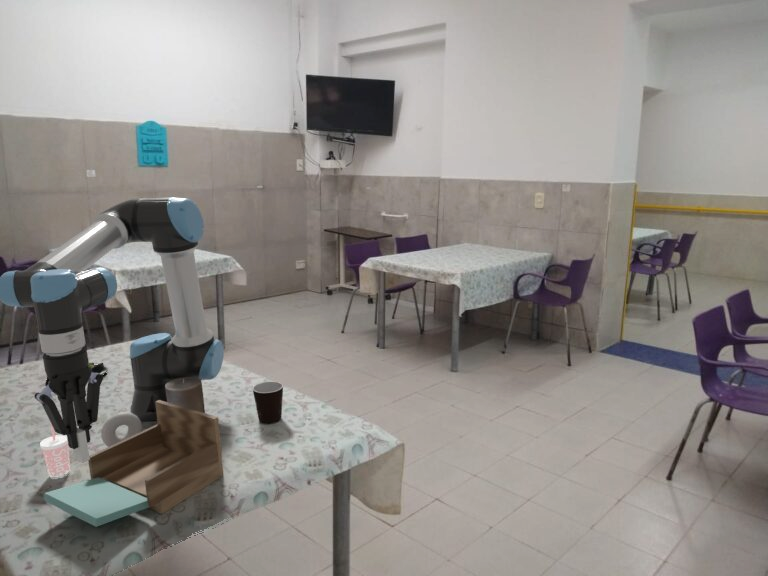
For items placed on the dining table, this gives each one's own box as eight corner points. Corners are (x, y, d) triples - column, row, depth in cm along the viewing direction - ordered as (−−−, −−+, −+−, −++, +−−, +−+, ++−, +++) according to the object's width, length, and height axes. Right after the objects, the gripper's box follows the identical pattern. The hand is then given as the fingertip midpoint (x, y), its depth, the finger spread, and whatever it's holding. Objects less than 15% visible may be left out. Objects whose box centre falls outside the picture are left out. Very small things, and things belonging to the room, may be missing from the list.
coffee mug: (278, 427, 160) (276, 393, 158) (250, 424, 162) (247, 391, 159) (293, 409, 171) (291, 378, 169) (266, 407, 173) (264, 376, 171)
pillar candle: (208, 419, 166) (203, 370, 162) (204, 434, 156) (198, 383, 153) (174, 423, 164) (168, 374, 161) (167, 438, 155) (160, 386, 152)
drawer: (92, 492, 129) (84, 432, 126) (165, 454, 146) (159, 399, 143) (152, 519, 119) (144, 454, 116) (223, 475, 135) (218, 417, 132)
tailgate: (97, 489, 129) (43, 505, 118) (98, 477, 129) (44, 492, 118) (149, 512, 120) (95, 532, 109) (150, 499, 120) (96, 518, 109)
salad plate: (49, 392, 190) (47, 379, 189) (42, 377, 204) (40, 364, 203) (112, 378, 201) (110, 365, 200) (101, 364, 215) (100, 353, 214)
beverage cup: (43, 484, 133) (34, 429, 130) (47, 471, 139) (38, 418, 136) (72, 477, 136) (64, 423, 133) (75, 465, 141) (67, 413, 138)
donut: (105, 456, 145) (100, 420, 143) (102, 451, 148) (97, 416, 146) (145, 444, 152) (141, 409, 149) (141, 439, 154) (137, 405, 152)
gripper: (41, 364, 103) (61, 480, 108) (107, 342, 113) (122, 449, 119) (18, 357, 106) (39, 470, 112) (84, 337, 117) (100, 441, 123)
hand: (82, 459), depth 115 cm, fingers closed
